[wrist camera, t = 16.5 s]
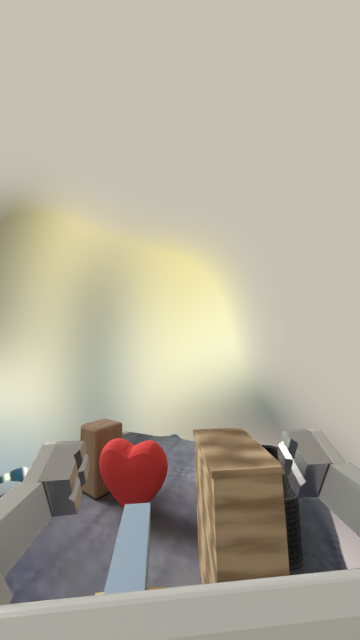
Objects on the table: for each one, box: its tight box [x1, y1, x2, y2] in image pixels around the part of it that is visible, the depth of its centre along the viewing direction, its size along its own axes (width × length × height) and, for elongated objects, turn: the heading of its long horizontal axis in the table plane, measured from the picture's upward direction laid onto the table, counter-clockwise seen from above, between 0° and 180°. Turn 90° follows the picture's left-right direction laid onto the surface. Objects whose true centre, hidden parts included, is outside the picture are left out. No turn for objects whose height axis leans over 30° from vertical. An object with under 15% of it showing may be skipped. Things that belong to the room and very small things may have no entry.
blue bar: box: [103, 503, 150, 595], centre depth 25 cm, size 26×4×4 cm, turn 5°
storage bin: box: [261, 445, 303, 570], centre depth 63 cm, size 29×19×13 cm
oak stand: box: [193, 427, 290, 584], centre depth 41 cm, size 19×11×26 cm, turn 5°
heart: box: [99, 438, 168, 509], centre depth 66 cm, size 20×9×19 cm, turn 74°
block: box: [80, 419, 122, 499], centre depth 79 cm, size 10×10×20 cm
